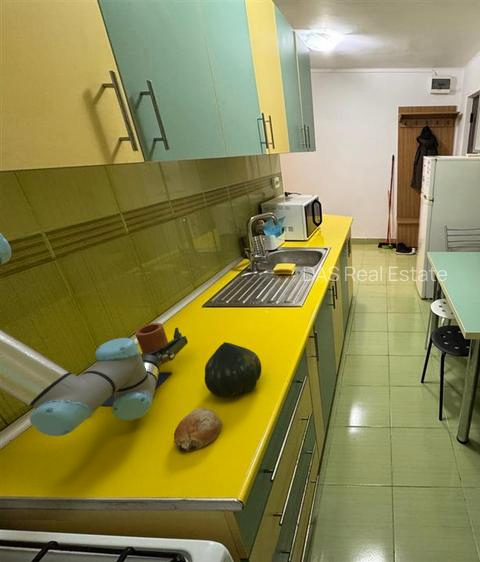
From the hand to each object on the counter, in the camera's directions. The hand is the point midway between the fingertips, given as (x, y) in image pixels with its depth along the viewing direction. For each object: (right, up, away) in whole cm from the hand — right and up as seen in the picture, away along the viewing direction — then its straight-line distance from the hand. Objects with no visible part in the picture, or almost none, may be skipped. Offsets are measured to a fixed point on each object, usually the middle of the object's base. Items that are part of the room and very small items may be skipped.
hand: (154, 335), depth 103 cm
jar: (+2, -8, 0) cm, 8 cm away
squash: (+34, -13, -13) cm, 38 cm away
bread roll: (+32, -20, -28) cm, 47 cm away
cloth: (+1, -13, -13) cm, 18 cm away
